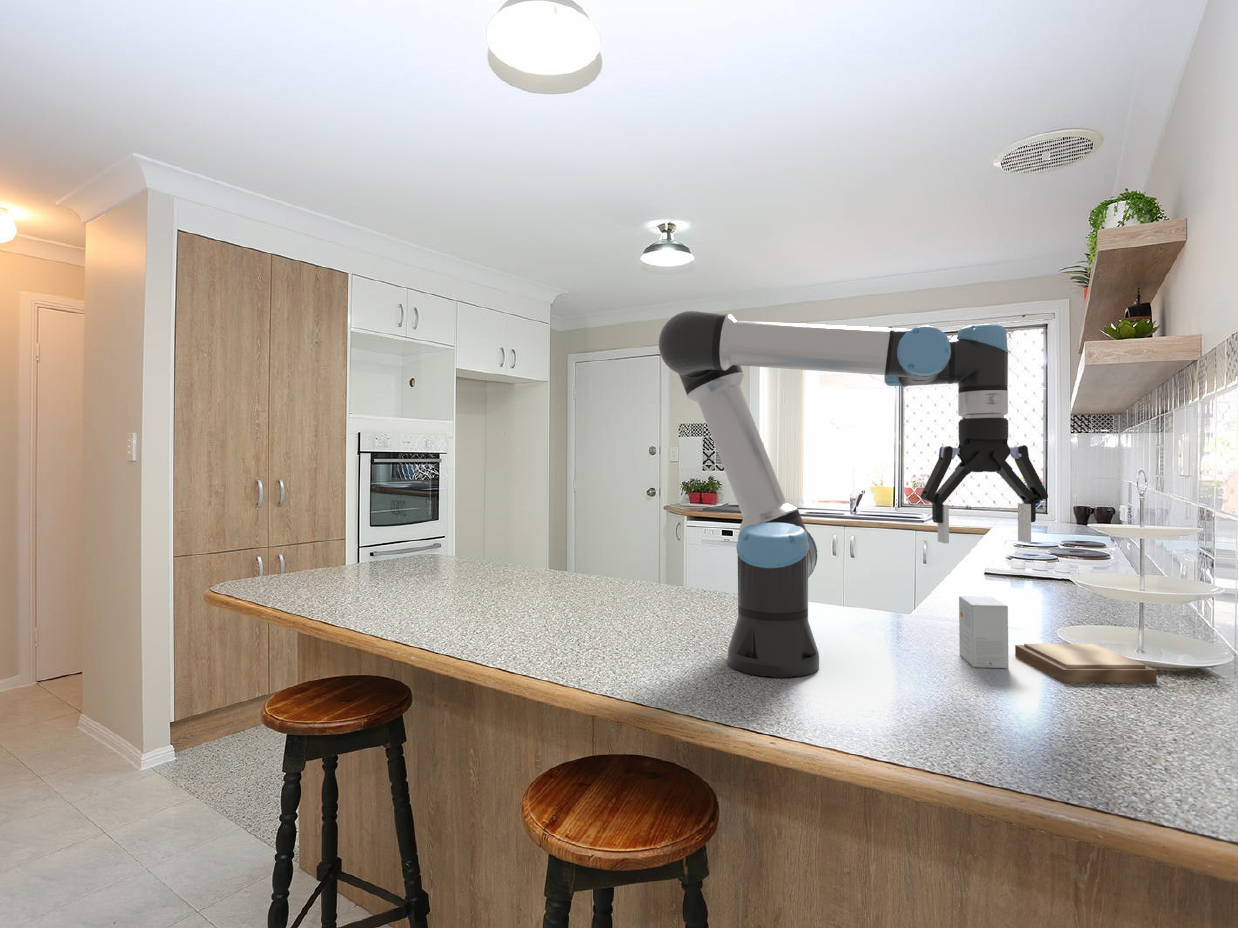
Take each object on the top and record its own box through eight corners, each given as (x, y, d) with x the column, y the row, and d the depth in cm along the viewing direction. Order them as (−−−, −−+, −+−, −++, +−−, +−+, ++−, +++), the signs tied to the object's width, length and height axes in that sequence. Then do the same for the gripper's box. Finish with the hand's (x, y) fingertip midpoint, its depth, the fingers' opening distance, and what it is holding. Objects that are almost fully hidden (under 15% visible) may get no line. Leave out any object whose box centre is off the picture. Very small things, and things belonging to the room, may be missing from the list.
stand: (1063, 682, 107) (1063, 666, 107) (1015, 656, 121) (1015, 642, 121) (1156, 682, 107) (1156, 666, 107) (1097, 656, 121) (1097, 642, 121)
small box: (1009, 669, 114) (1009, 605, 114) (972, 667, 115) (972, 604, 115) (993, 655, 122) (993, 596, 122) (958, 654, 123) (958, 595, 123)
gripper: (917, 417, 115) (918, 545, 115) (1071, 415, 114) (1072, 544, 114) (900, 419, 122) (901, 539, 123) (1044, 417, 121) (1045, 538, 122)
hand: (983, 542), depth 118 cm, fingers open, 13 cm apart
